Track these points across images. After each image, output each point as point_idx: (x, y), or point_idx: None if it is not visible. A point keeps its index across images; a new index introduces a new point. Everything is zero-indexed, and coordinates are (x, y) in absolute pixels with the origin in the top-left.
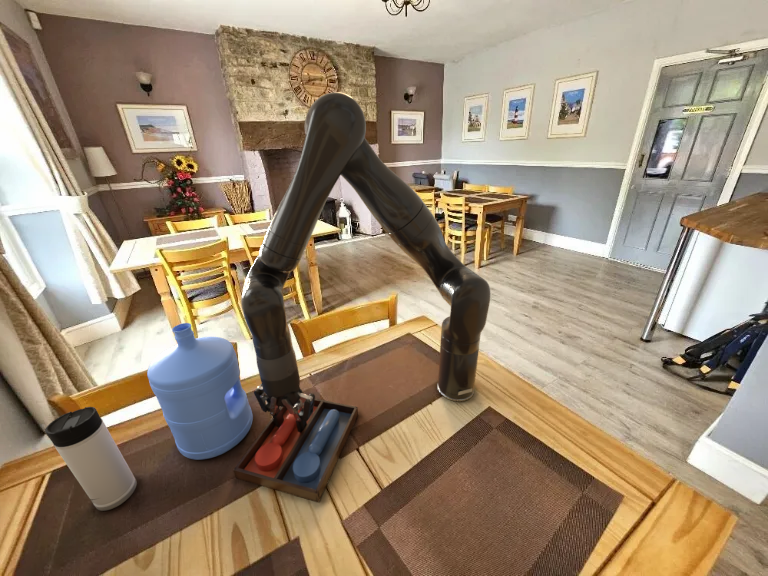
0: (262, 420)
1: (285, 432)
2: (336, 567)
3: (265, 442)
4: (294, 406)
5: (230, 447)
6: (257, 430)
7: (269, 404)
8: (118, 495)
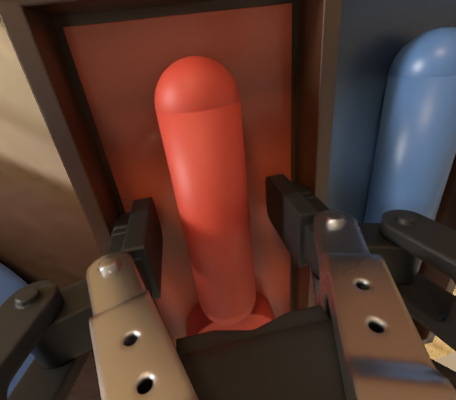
0: (17, 212)
1: (250, 287)
2: (453, 350)
3: (161, 293)
4: (327, 315)
5: None
6: (59, 258)
7: (59, 337)
8: None
